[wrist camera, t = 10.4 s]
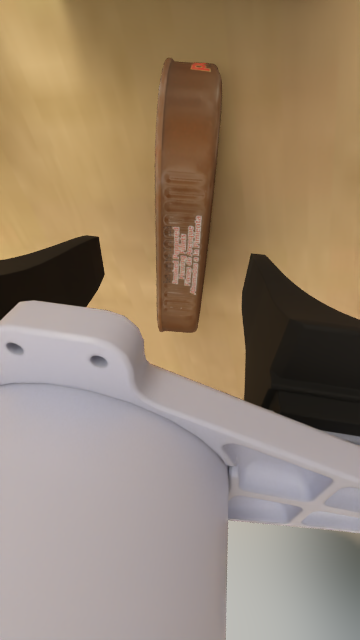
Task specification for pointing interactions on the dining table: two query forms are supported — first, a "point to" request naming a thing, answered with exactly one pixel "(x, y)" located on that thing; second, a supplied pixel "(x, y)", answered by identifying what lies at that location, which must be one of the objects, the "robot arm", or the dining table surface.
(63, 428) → the robot arm
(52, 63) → the dining table surface
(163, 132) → the tin
